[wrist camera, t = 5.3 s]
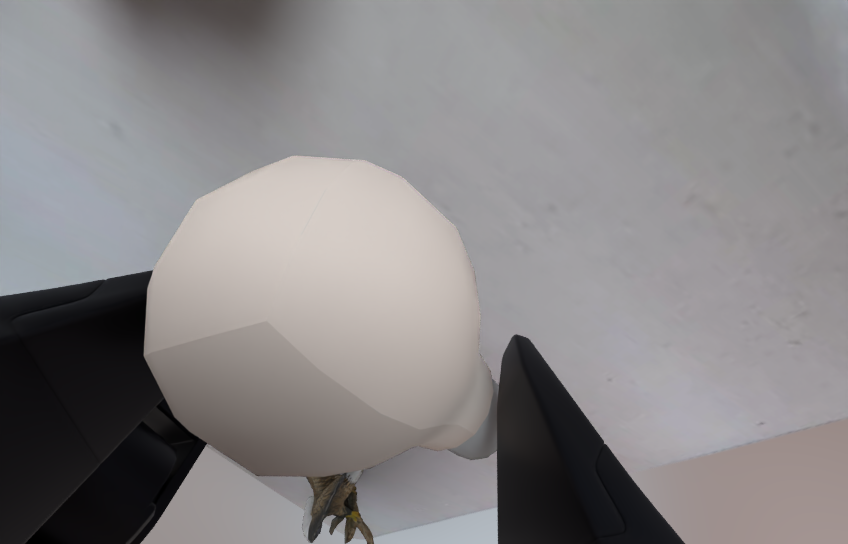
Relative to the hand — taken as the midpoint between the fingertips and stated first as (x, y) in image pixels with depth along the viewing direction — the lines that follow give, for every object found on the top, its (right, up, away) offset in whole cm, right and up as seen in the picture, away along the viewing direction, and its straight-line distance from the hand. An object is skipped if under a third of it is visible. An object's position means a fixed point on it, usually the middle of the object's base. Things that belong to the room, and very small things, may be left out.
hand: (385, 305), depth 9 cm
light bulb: (+1, 0, +1) cm, 2 cm away
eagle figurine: (-5, -14, +17) cm, 23 cm away
